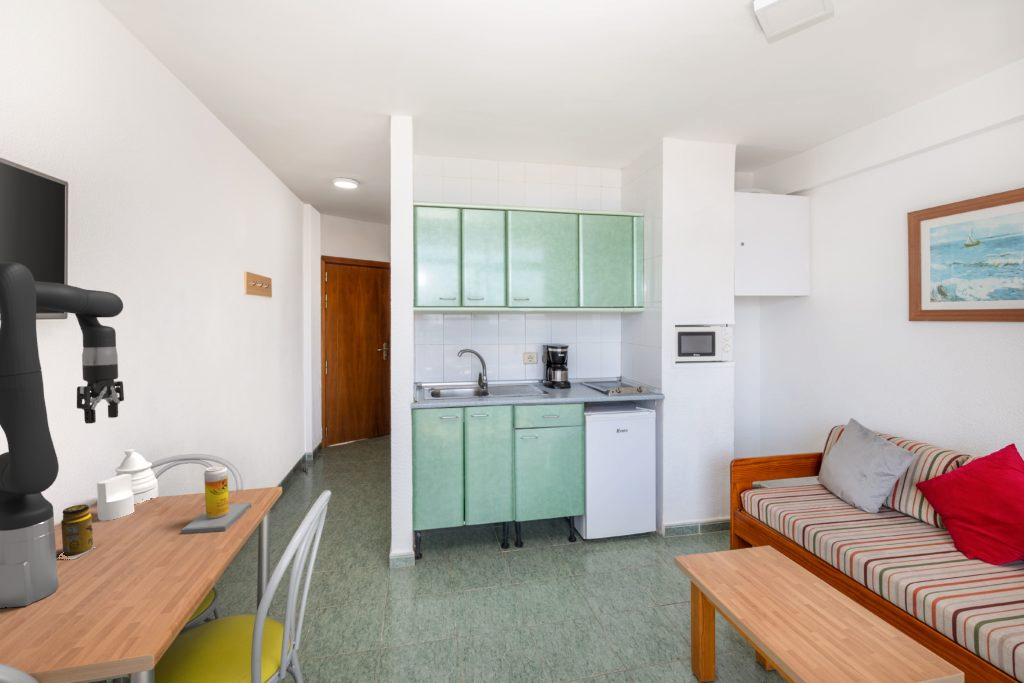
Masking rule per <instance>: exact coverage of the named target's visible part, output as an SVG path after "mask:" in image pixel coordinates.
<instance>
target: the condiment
mask: <svg viewBox="0 0 1024 683" xmlns="http://www.w3.org/2000/svg"><path fill="white" fill-rule="evenodd" d="M90 512H91V511H90V506H89V504H76V505H72V506H68V507H67V508H64V509H63V510H62V520H61V521H60V522H61V525H60V526H61V540H62V544H61V545H62V551H60V552H58V553H56V559H57V558H58V557H59V555H60V554H61V553H63V552H64V553H63V555H65V556H67V559H68V560H69V559H70V560H76V559H77V558H80V557H81V556H83V555H85V554H87V553H88V552H90V551H92V550H94V549H96V548H97V547H93V544H94V541H93V540H94V538H93V535H94V534H93V524H92V521H93V520H92V519H93V518H92V514H91V513H90ZM93 548H94V549H93ZM90 549H91V550H90ZM68 556H73V557H69V558H68ZM60 557H62V556H60ZM58 559H59V558H58ZM60 559H61V558H60ZM67 559H66V561H68V560H67ZM70 560H69V561H70ZM63 561H65V559H64V560H63Z"/></svg>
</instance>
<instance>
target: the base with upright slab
mask: <svg viewBox="0 0 1024 683" xmlns="http://www.w3.org/2000/svg"><path fill="white" fill-rule="evenodd" d="M96 488H97V490H96V491H97V500H96V506H97V508H96V509H97V520H98V519H99V520H102V521H101V522H107V521H106V520H111V521H114V520H113V519H116V518H120V517H123V516H126V515H129V514H131V513H133V512H134V513H135V505H134V494H133V492H132V485H131V474H122V475H119V476H116V475H115V476H112V477H111V478H108V479H105V480H102V481H99V482H97V483H96ZM134 513H133V514H134ZM131 515H132V514H131ZM129 516H130V515H129ZM99 520H98V521H99Z"/></svg>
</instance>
